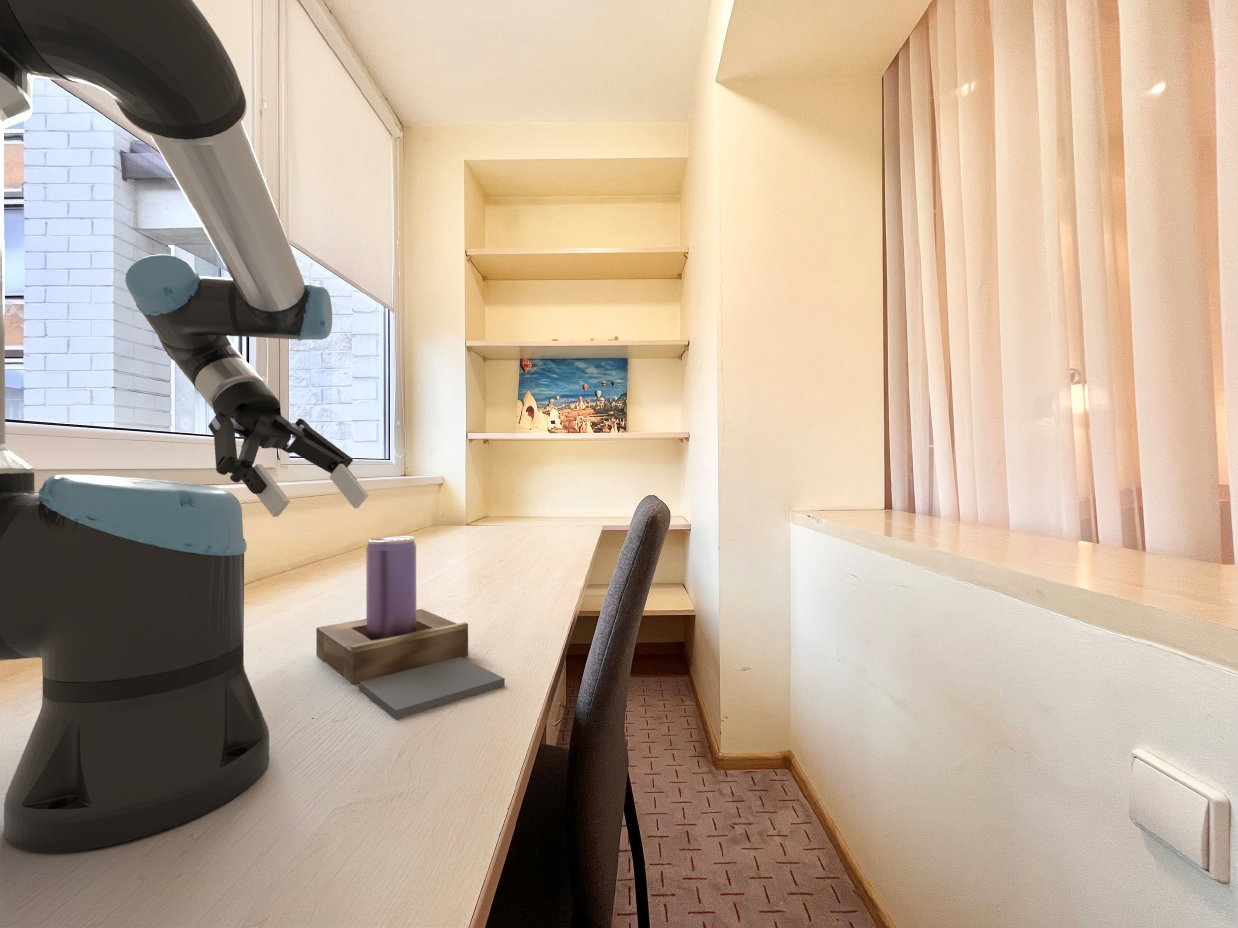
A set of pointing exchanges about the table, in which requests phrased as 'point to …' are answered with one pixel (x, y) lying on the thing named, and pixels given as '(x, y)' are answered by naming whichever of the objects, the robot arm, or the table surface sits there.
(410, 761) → the table surface
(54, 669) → the robot arm
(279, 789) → the table surface
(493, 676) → the rubber mat
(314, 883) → the table surface
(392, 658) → the can holder
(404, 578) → the beverage can
